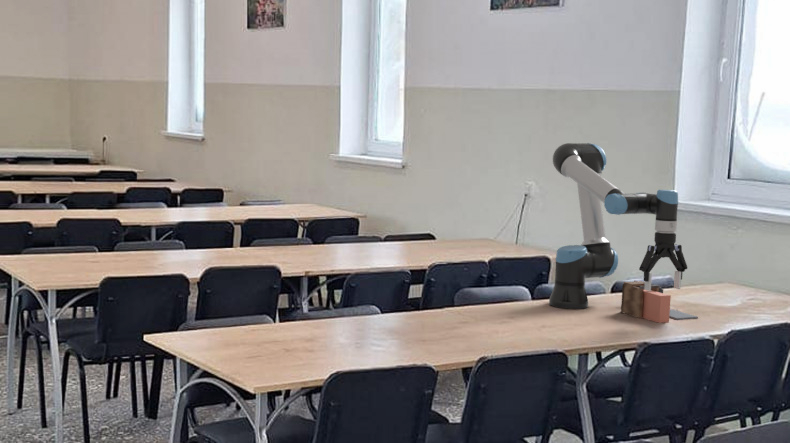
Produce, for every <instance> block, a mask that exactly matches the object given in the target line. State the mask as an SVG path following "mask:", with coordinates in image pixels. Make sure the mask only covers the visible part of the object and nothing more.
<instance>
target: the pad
mask: <svg viewBox="0 0 790 443" xmlns="http://www.w3.org/2000/svg"><path fill="white" fill-rule="evenodd" d="M669 319H673V320H676V321H677V320H678V321H679V320H691V319H693V320H694V319H699V316H697V315H693V314H690V313H687V312H682V311H680V310H675V309H670V314H669Z"/></svg>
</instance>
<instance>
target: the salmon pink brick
mask: <svg viewBox="0 0 790 443" xmlns="http://www.w3.org/2000/svg"><path fill="white" fill-rule="evenodd" d="M671 297H672V296H671V295H670V294H666V293H664V292H663V293H660V292H656V291H652V290H651V291H648V290H644V292H643V307H642V317H643V318H644V319H645V320H649V321H653V322H655V323H658V322H659V323H661V324H662V322H663V323H670V318H669V314H670V310H671V299H672V298H671Z"/></svg>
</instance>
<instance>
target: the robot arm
mask: <svg viewBox="0 0 790 443" xmlns="http://www.w3.org/2000/svg"><path fill="white" fill-rule="evenodd" d="M552 164H553V167H554V168H555V169H556V171H557V172H558V173H559V174H560V175H562V176H563V177H564V178H570V179H571V180H573V181H574V182H576V185H577V192H578V193H577V194H578V200H579V209H580V218H581V225H582V236H583V241H582V243H581V244H575V245H573V244H572V245H571V244H569V245H565V246H561V247H559V248H557V250H556V256H555V272H554V273H555V274H554V286H553V289H552V291H551V294H550V296H549V301H548V305H549V306H551V307H555V308H560V309H570V310H578V309H579V310H580V309H581V310H582V309H583V310H584V309H586V308H588V307H589V300H588V299H589V298H588V295H587V291H586V288H585V286H586V279H592V278H605V277H610V276H612V274H614V273H615V271H616V270H617V268H618V266H619V255H618V252H617V251H616V250H615V248H613V247H611V241H609V240H608V239H607V237H606V233H605V232H606V230H605V222H604V214H603V213H604V212H603V207H602V206H603V205H604V208H605V210H606V212H607V213H608V214H610V215H616V216H617V215H619V216H620V215H635V214H636V215H637V214H639V215H641V214H645V215H646V214H647V215H655V223H654V224H655V225H654V231H655V232H654V245H650V244H648V245H647V250H646V252H645V255H644V256H643V259H642V261H641V264H640V265H639V266H640V267H639V268H638V269H639V271H641V272H643V282H645V287H644V290H648V291H651V284H652V278H653V276H652V275H653V274H652V272H651V271H652V270H653V268H654V267H655V265H656V264H657V263H658V261H659V260H660V259H662V258H664V259H665V258H669V260H670V261H671V263H672V264H673V266H674V268H675V269H676V270H674V280H673V281H674V282H673V289H677V290H681V282H682V280H683V272H685V271H686V270H688V265H687V262H686V259H685V256H684V254H683V251H682V250H683V249H682V244H676V241H677V240H676V239H677V233H676V232H677V221H678V220H677V219H678V206H679V192H678V191H677V190H675V189H657V192H656V193H655V194H654V193H647V192H636V193H625V192H624V191H622V190H621V189H620V188H618V187H617V186H616V185H614V184H613V183H611V182H610V181H609V180H607V179H605V177H603V171H604V170H605V168H606V165H607V156H606V153H605V151H604V148H602V147H601V146H599V145H598V144H595V143H589V142H587V143H583V142H582V143H577V142H576V143H574V142H570V143H562V144H561V145H559V146H558V147H557V148H556V149H555V150H554V152H553V155H552ZM602 203H603V205H602Z"/></svg>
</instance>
